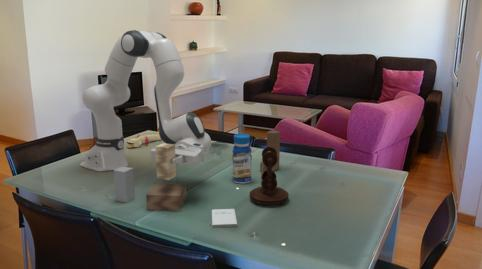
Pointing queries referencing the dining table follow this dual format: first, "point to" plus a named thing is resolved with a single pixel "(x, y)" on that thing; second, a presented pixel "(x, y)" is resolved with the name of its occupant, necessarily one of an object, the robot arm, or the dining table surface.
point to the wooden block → (274, 142)
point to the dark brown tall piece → (269, 182)
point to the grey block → (124, 184)
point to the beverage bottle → (241, 159)
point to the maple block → (165, 161)
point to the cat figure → (143, 140)
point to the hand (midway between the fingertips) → (164, 160)
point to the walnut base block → (166, 196)
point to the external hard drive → (223, 218)
